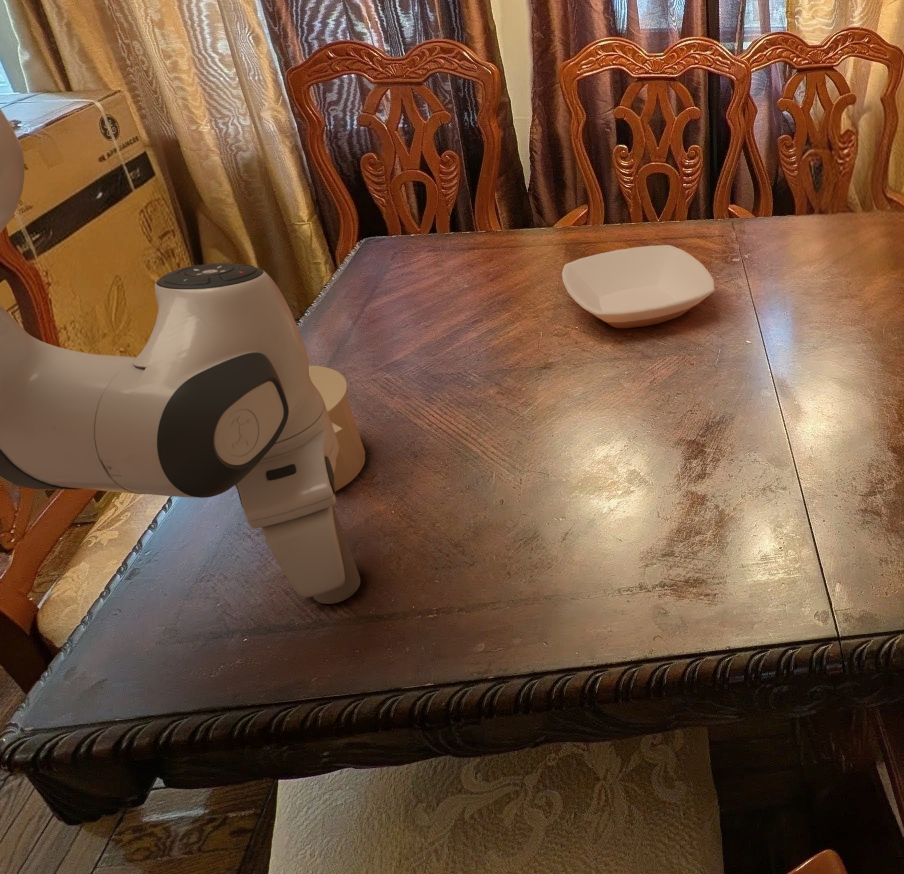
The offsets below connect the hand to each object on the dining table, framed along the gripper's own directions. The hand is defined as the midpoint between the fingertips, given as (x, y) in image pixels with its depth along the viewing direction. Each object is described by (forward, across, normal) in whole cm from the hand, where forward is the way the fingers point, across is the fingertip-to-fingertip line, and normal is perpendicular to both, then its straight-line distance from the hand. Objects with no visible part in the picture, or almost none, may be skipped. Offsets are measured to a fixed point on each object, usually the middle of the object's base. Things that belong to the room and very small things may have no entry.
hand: (326, 560), depth 76 cm
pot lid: (-6, -21, 0) cm, 22 cm away
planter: (+4, 0, 0) cm, 4 cm away
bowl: (+4, -39, +50) cm, 64 cm away
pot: (+4, -21, 0) cm, 22 cm away
